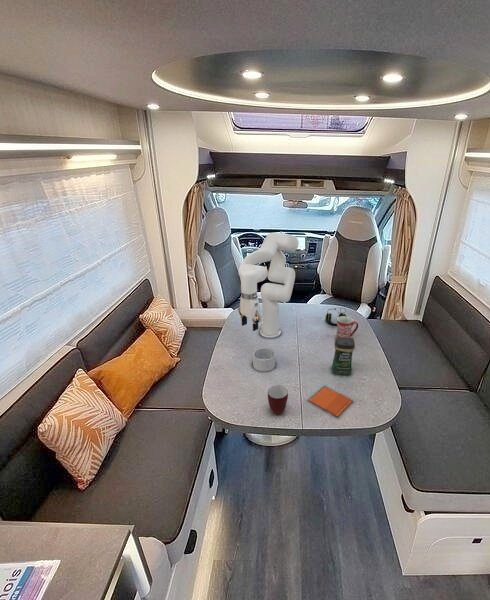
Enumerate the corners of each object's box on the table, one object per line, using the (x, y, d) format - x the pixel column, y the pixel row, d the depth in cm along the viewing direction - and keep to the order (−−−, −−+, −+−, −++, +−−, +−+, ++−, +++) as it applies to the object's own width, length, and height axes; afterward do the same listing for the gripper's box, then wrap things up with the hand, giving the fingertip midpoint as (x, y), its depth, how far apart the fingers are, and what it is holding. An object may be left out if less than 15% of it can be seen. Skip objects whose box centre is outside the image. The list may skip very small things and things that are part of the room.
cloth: (309, 400, 135) (309, 399, 134) (325, 387, 143) (325, 386, 143) (337, 416, 126) (337, 415, 126) (352, 401, 135) (352, 400, 135)
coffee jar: (332, 375, 152) (335, 342, 144) (331, 365, 159) (334, 333, 152) (352, 376, 151) (356, 343, 144) (350, 366, 158) (354, 335, 151)
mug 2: (336, 344, 178) (339, 323, 173) (333, 336, 187) (335, 316, 181) (358, 344, 179) (361, 323, 174) (354, 336, 188) (356, 316, 182)
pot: (248, 365, 157) (248, 354, 155) (264, 355, 165) (263, 345, 163) (264, 374, 151) (264, 362, 148) (279, 364, 159) (280, 353, 156)
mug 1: (266, 400, 134) (267, 381, 130) (285, 399, 135) (286, 381, 131) (268, 419, 124) (268, 399, 120) (288, 417, 125) (289, 398, 121)
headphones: (346, 302, 210) (354, 315, 192) (345, 315, 214) (353, 329, 195) (323, 302, 208) (329, 316, 190) (322, 315, 212) (328, 329, 194)
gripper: (267, 297, 148) (267, 330, 155) (242, 288, 158) (243, 319, 165) (256, 302, 142) (256, 336, 149) (231, 292, 152) (232, 324, 159)
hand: (249, 327), depth 157 cm, fingers open, 7 cm apart
